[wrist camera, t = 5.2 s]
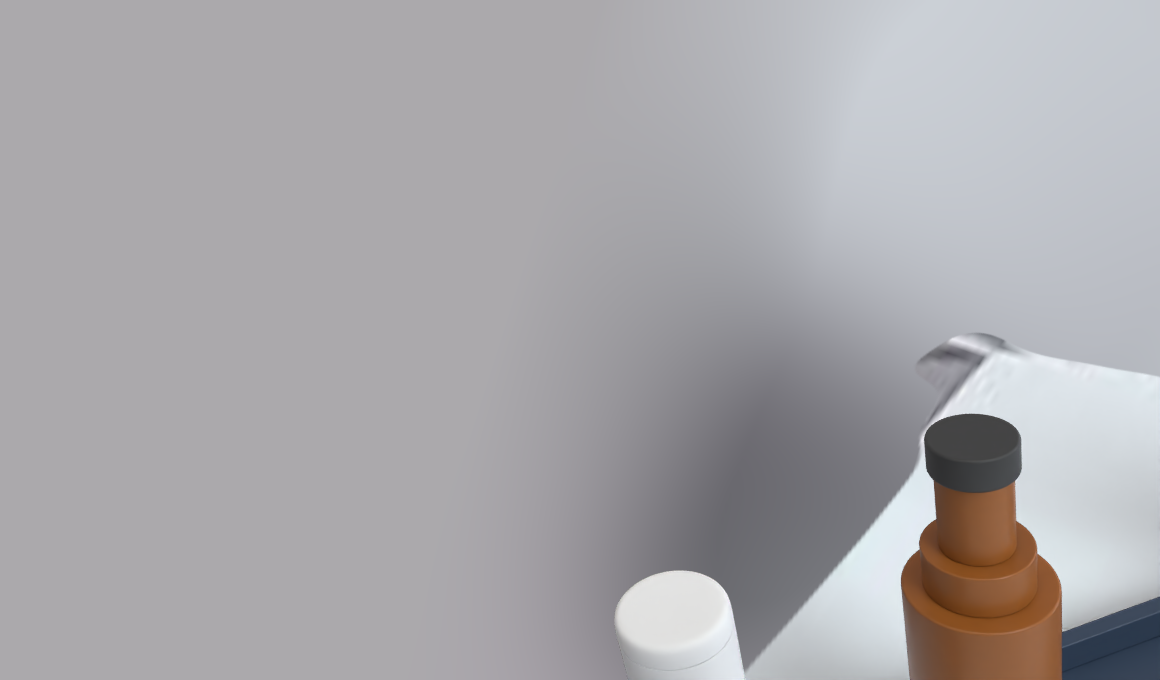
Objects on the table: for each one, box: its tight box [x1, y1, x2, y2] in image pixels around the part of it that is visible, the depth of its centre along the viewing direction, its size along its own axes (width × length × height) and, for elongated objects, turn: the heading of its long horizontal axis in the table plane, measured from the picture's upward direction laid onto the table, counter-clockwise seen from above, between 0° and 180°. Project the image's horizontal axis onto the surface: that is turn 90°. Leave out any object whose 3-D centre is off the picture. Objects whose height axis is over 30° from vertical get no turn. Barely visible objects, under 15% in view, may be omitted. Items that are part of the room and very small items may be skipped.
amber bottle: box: [901, 414, 1062, 680], centre depth 33 cm, size 5×5×18 cm
